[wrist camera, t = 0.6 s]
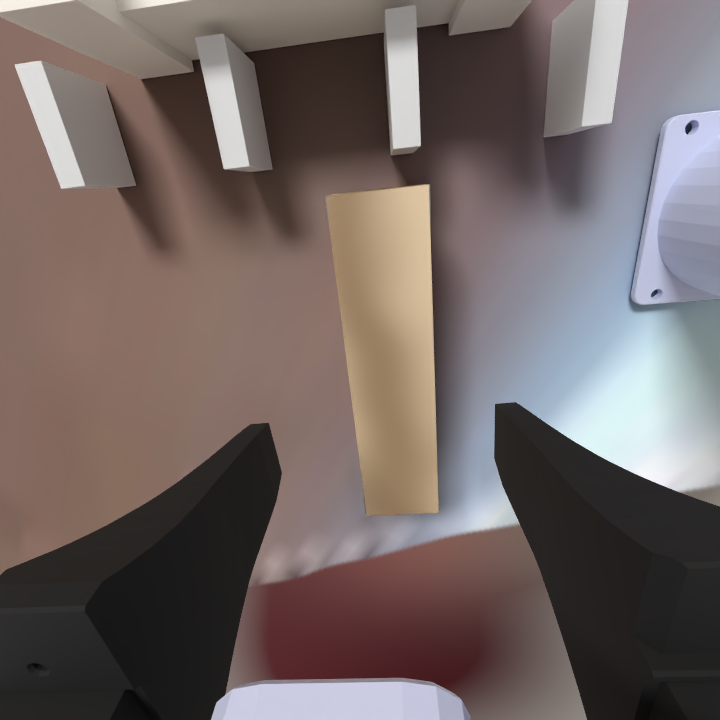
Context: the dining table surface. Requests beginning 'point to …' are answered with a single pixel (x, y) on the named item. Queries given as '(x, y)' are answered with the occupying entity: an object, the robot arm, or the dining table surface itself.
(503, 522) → the dining table surface
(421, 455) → the rail
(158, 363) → the dining table surface
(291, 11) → the white comb rack
